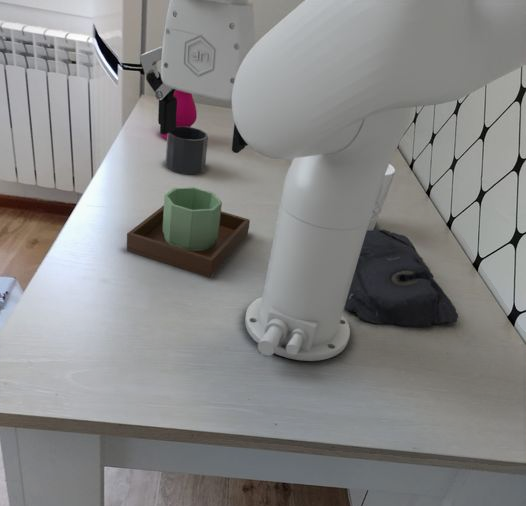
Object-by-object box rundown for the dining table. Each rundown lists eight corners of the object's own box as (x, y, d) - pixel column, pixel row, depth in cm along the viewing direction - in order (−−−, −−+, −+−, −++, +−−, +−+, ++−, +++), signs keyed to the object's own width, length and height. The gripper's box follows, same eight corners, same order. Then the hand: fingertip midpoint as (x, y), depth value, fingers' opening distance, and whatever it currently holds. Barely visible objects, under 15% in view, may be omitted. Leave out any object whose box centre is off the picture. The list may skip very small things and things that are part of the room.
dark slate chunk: (415, 249, 93) (425, 222, 90) (461, 332, 76) (475, 302, 73) (321, 238, 91) (328, 210, 88) (346, 321, 73) (356, 289, 70)
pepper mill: (155, 129, 117) (159, 16, 105) (190, 131, 120) (199, 21, 108) (161, 142, 112) (167, 25, 100) (198, 144, 115) (208, 30, 102)
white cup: (376, 239, 93) (394, 179, 87) (328, 227, 94) (342, 167, 88) (378, 219, 100) (395, 162, 94) (333, 208, 100) (347, 151, 94)
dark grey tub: (194, 177, 101) (197, 143, 98) (159, 167, 102) (160, 133, 99) (210, 166, 107) (213, 133, 103) (176, 156, 108) (178, 123, 104)
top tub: (203, 256, 79) (207, 215, 76) (155, 241, 81) (157, 200, 77) (222, 235, 85) (227, 196, 81) (177, 221, 86) (180, 182, 82)
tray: (210, 277, 76) (212, 260, 75) (126, 250, 79) (126, 233, 77) (247, 235, 88) (250, 219, 86) (173, 212, 90) (174, 196, 88)
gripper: (126, -32, 62) (126, 132, 72) (279, -1, 59) (257, 165, 69) (158, -33, 68) (154, 118, 78) (299, -5, 65) (276, 149, 75)
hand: (202, 140), depth 74 cm, fingers open, 9 cm apart
